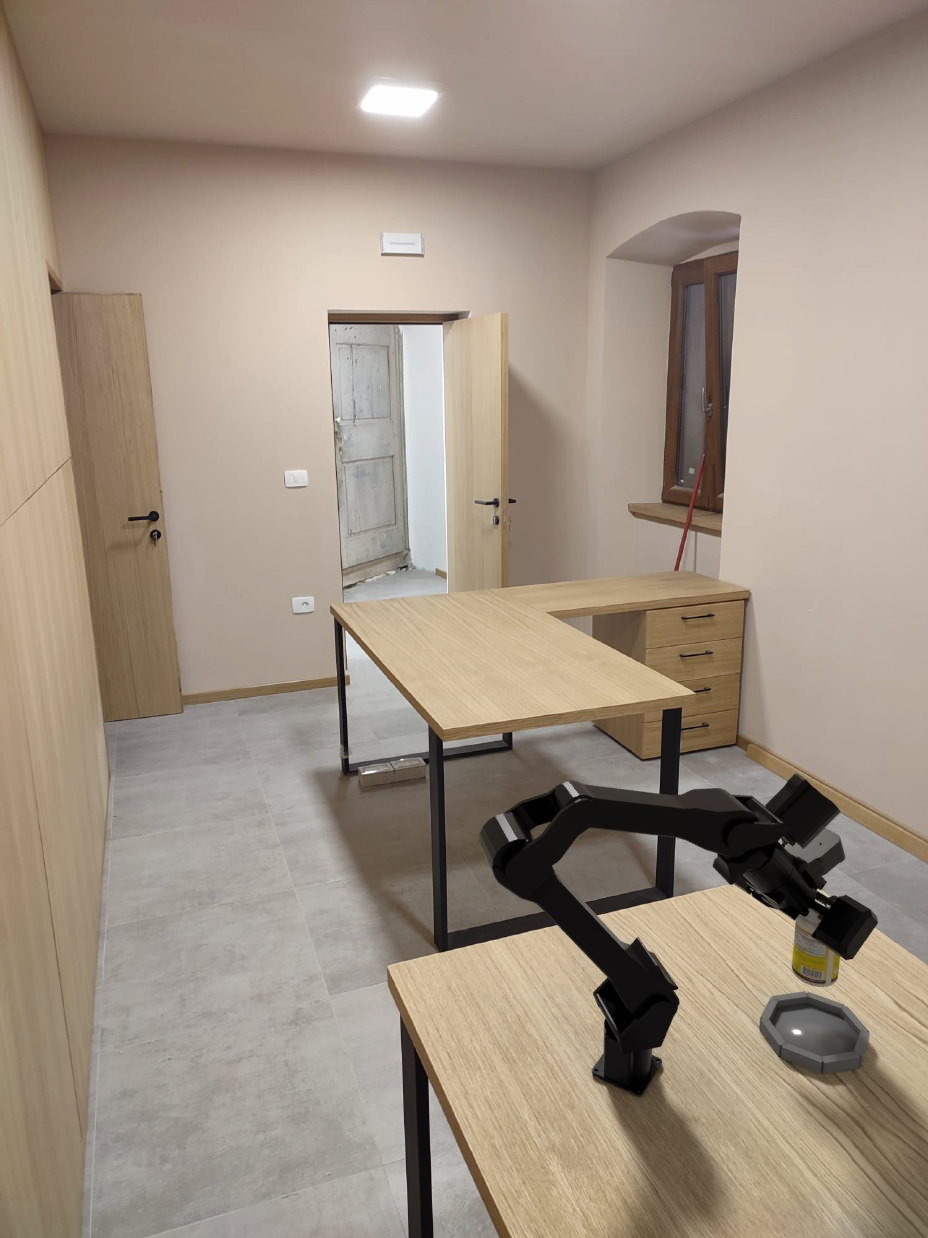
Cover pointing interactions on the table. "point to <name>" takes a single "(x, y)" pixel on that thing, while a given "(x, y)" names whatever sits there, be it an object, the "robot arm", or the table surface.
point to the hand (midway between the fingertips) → (826, 926)
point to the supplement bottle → (813, 954)
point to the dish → (814, 1032)
